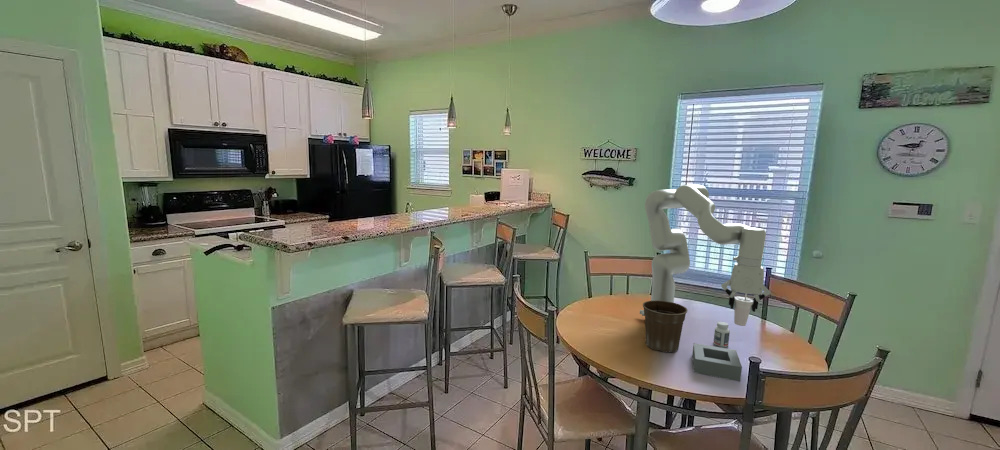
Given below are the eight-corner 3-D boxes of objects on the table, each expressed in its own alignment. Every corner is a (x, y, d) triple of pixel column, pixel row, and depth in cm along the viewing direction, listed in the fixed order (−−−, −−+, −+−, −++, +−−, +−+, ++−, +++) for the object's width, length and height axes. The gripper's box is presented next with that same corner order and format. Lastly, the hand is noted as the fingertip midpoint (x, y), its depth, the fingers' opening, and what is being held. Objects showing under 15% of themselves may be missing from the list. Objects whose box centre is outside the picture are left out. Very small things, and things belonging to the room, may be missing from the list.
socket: (694, 372, 144) (695, 358, 143) (692, 355, 156) (693, 343, 156) (740, 381, 138) (742, 367, 138) (734, 363, 151) (736, 350, 150)
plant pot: (630, 340, 168) (633, 302, 166) (661, 335, 175) (664, 298, 172) (660, 358, 154) (664, 316, 151) (693, 351, 160) (697, 311, 158)
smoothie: (752, 328, 151) (758, 291, 149) (733, 326, 152) (739, 289, 150) (746, 321, 157) (751, 286, 155) (727, 319, 159) (733, 284, 156)
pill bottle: (726, 342, 169) (729, 322, 167) (729, 348, 164) (731, 326, 162) (712, 340, 170) (714, 320, 169) (714, 346, 165) (716, 324, 164)
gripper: (723, 260, 150) (717, 308, 154) (779, 267, 144) (771, 316, 147) (721, 256, 157) (715, 301, 160) (774, 262, 151) (767, 309, 154)
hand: (742, 308), depth 154 cm, fingers closed on smoothie, 6 cm apart
